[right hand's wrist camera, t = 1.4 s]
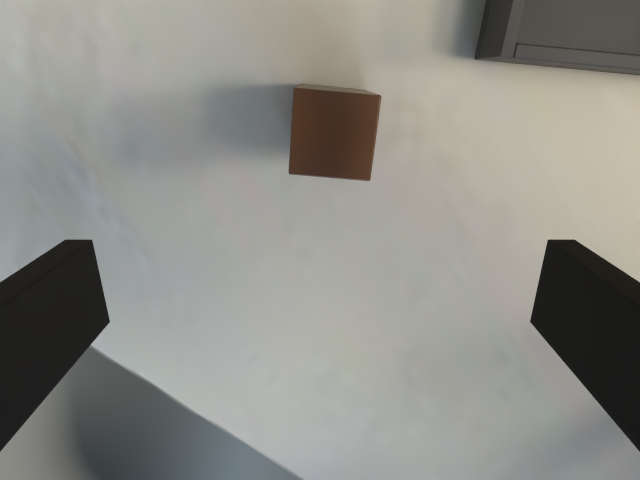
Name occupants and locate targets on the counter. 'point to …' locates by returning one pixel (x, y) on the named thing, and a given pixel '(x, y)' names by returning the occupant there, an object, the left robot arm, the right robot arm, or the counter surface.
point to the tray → (563, 34)
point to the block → (333, 132)
